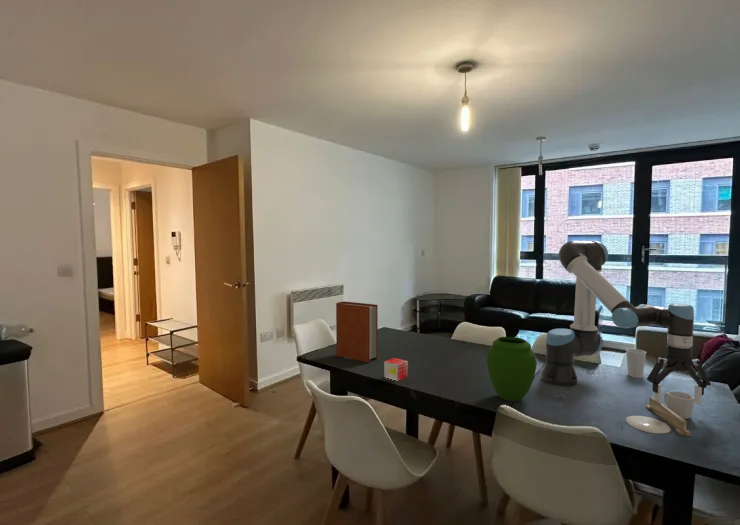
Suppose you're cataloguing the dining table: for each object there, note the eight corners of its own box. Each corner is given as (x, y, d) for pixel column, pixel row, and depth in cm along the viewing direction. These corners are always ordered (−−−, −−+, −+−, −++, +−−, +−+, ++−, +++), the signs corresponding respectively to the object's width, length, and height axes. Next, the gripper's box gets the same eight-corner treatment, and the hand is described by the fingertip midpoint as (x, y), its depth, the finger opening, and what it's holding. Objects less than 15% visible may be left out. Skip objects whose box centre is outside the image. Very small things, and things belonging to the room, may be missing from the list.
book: (377, 359, 219) (377, 304, 217) (369, 363, 212) (369, 306, 210) (343, 352, 231) (343, 301, 230) (335, 356, 225) (334, 303, 223)
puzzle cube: (384, 377, 190) (384, 361, 190) (394, 373, 196) (394, 357, 195) (397, 382, 185) (397, 365, 184) (407, 377, 190) (408, 361, 190)
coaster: (636, 432, 136) (636, 431, 136) (619, 415, 149) (619, 414, 149) (679, 435, 134) (679, 434, 134) (658, 418, 147) (658, 417, 147)
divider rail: (680, 434, 134) (680, 421, 134) (645, 407, 156) (646, 395, 156) (690, 435, 134) (690, 422, 134) (654, 407, 156) (654, 396, 156)
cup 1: (648, 379, 188) (649, 353, 187) (629, 377, 189) (630, 352, 189) (640, 373, 196) (641, 349, 195) (622, 372, 197) (623, 348, 196)
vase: (531, 412, 152) (532, 348, 151) (479, 401, 162) (480, 341, 161) (539, 395, 169) (541, 338, 167) (492, 386, 179) (493, 332, 177)
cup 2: (655, 408, 155) (655, 388, 155) (674, 408, 156) (675, 387, 155) (678, 421, 144) (679, 399, 144) (699, 420, 145) (700, 398, 145)
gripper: (648, 347, 147) (645, 404, 148) (724, 350, 143) (722, 408, 144) (637, 342, 154) (635, 396, 155) (710, 344, 150) (708, 400, 151)
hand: (677, 402), depth 150 cm, fingers open, 13 cm apart
